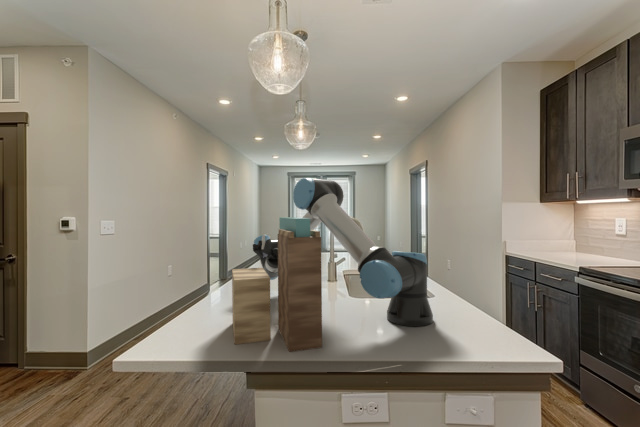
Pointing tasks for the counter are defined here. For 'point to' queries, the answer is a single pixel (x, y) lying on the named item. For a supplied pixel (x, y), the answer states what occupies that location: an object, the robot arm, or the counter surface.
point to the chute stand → (300, 290)
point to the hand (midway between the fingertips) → (283, 237)
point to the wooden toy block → (251, 305)
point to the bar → (296, 225)
